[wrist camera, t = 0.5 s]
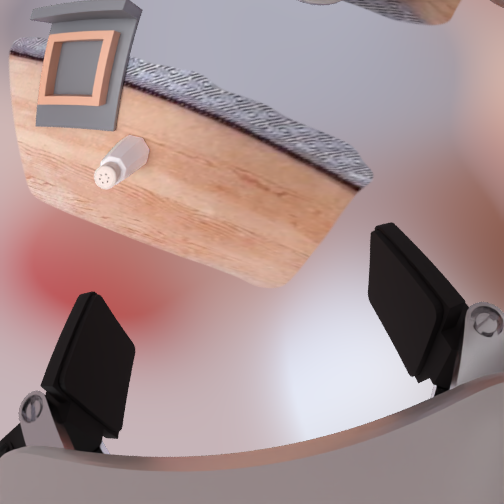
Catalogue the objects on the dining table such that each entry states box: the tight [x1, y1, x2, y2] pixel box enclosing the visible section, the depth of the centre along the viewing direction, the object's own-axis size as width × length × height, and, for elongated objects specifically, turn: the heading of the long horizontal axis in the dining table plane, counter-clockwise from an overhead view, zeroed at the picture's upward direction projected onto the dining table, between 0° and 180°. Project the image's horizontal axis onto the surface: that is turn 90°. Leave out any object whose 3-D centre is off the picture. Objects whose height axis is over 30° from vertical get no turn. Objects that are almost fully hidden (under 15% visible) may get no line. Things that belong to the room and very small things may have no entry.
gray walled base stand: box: [30, 0, 142, 131], centre depth 25 cm, size 18×14×7 cm
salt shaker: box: [94, 135, 150, 189], centre depth 32 cm, size 5×5×11 cm
